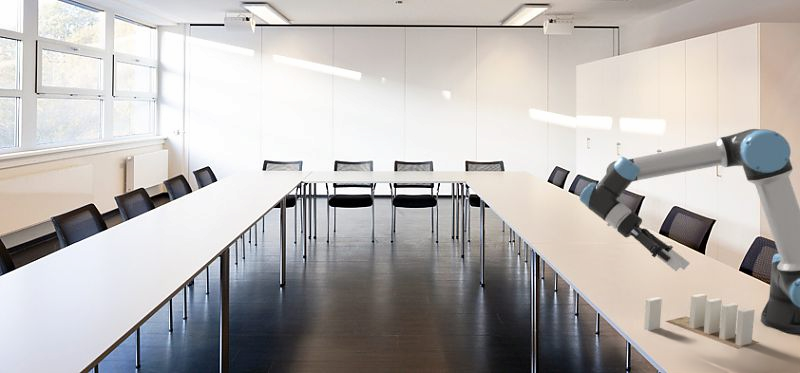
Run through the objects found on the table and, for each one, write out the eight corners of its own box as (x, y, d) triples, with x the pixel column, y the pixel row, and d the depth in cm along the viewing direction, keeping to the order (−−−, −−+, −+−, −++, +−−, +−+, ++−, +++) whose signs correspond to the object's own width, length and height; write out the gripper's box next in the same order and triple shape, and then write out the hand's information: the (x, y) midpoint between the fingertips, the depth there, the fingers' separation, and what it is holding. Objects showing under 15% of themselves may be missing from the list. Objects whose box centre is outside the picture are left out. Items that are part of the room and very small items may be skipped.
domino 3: (703, 332, 177) (706, 300, 176) (714, 329, 180) (716, 298, 178) (708, 334, 176) (711, 302, 175) (719, 331, 178) (721, 299, 177)
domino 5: (735, 344, 168) (738, 310, 167) (746, 341, 171) (749, 308, 169) (740, 346, 167) (743, 312, 166) (751, 342, 169) (754, 309, 168)
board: (686, 318, 191) (686, 316, 191) (759, 344, 170) (759, 342, 170) (665, 323, 187) (665, 321, 187) (737, 350, 165) (737, 348, 165)
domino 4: (719, 338, 173) (721, 305, 172) (729, 335, 175) (732, 302, 174) (724, 339, 171) (726, 307, 170) (735, 337, 174) (737, 304, 172)
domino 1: (644, 330, 180) (645, 299, 179) (655, 328, 182) (657, 297, 181) (648, 332, 179) (650, 300, 177) (659, 329, 181) (661, 298, 179)
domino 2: (689, 326, 182) (691, 295, 180) (699, 324, 184) (702, 293, 183) (693, 328, 180) (695, 297, 179) (704, 325, 183) (706, 294, 181)
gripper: (625, 231, 193) (681, 274, 183) (605, 229, 172) (666, 278, 162) (641, 213, 191) (697, 256, 181) (622, 209, 170) (685, 258, 160)
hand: (683, 267), depth 171 cm, fingers open, 13 cm apart
